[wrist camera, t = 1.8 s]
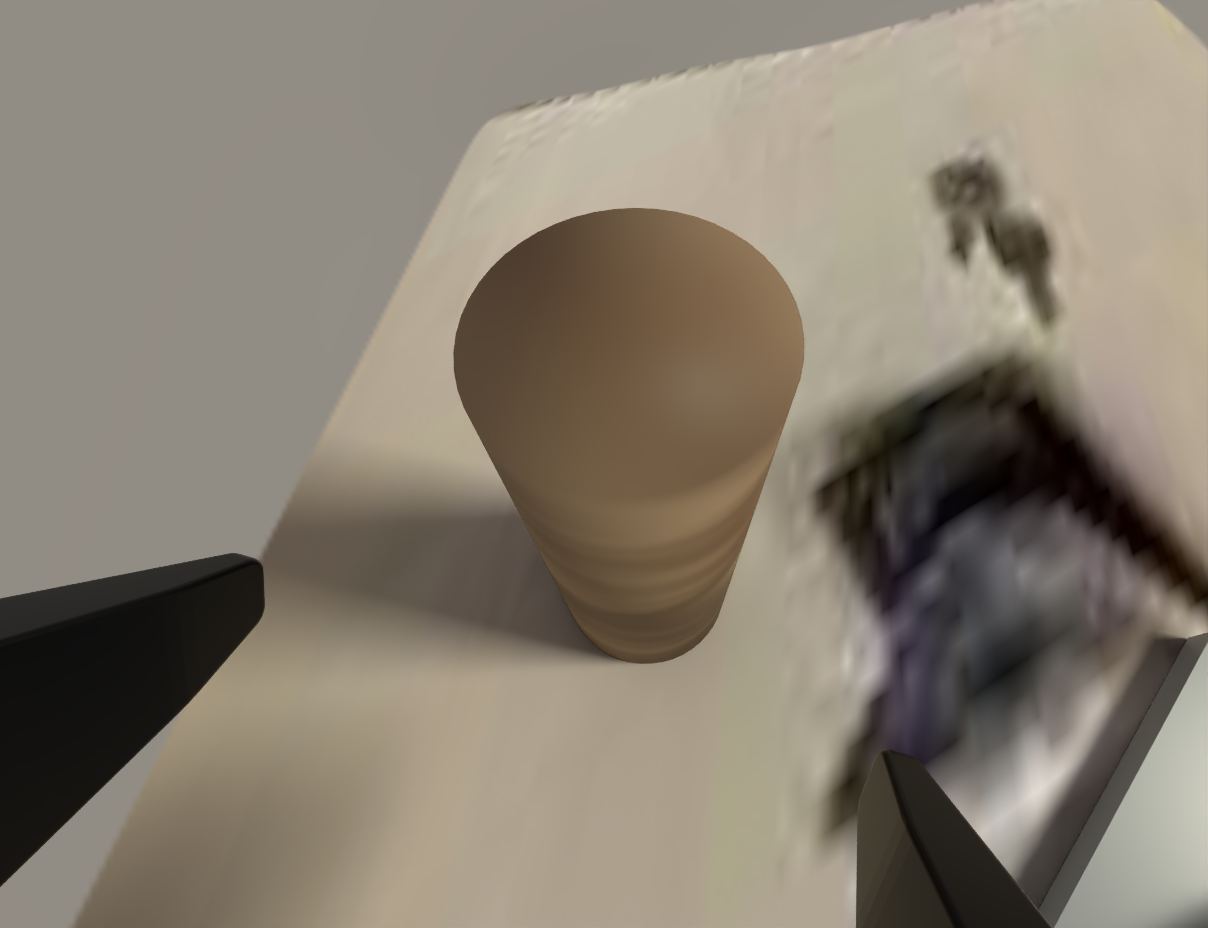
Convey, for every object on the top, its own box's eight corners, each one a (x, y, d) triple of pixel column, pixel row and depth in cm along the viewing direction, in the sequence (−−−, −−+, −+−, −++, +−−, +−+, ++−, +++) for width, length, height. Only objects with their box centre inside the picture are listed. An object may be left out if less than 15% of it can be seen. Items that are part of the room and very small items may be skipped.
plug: (654, 699, 20) (645, 576, 8) (535, 591, 21) (383, 358, 10) (756, 574, 21) (875, 313, 9) (636, 482, 23) (611, 164, 11)
